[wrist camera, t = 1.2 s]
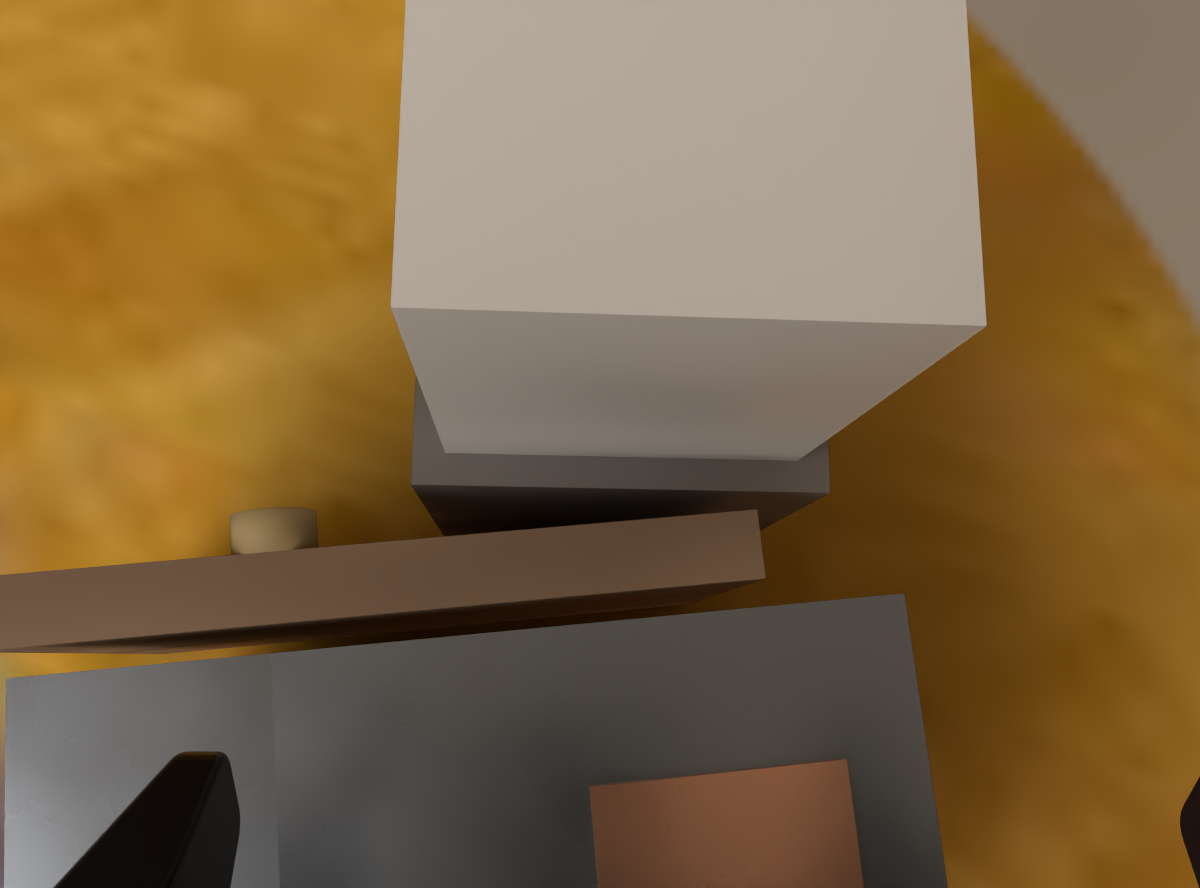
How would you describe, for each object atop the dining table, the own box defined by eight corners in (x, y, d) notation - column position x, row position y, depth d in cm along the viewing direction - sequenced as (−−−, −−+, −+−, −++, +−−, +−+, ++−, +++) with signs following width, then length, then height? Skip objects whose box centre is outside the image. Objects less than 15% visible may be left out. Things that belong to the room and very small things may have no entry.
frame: (741, 1130, 21) (870, 1411, 13) (172, 1209, 20) (-52, 1562, 12) (675, 531, 24) (753, 467, 16) (160, 577, 23) (-35, 533, 15)
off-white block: (797, 460, 17) (985, 326, 10) (445, 453, 16) (390, 306, 10) (789, 165, 18) (956, -142, 11) (456, 151, 17) (413, -176, 11)
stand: (740, 540, 24) (829, 493, 17) (443, 535, 23) (410, 484, 16) (736, 281, 25) (818, 138, 18) (453, 272, 24) (426, 122, 18)
